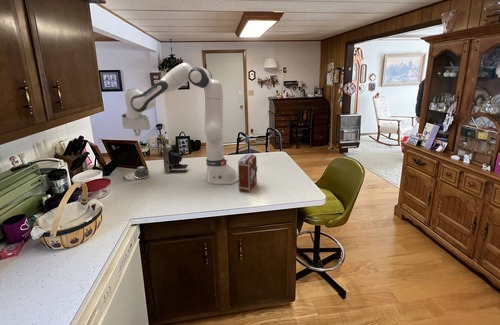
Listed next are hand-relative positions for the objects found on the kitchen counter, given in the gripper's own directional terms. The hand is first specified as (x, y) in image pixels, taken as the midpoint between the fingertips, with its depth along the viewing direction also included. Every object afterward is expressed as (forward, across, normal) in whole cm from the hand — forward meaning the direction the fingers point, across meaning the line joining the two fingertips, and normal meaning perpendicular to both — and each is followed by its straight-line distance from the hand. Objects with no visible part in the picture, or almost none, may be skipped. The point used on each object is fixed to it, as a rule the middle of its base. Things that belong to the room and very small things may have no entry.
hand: (137, 135), depth 189 cm
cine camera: (+29, -76, -9) cm, 82 cm away
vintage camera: (+29, -15, -18) cm, 37 cm away
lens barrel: (+29, 0, +1) cm, 29 cm away
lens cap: (+27, 0, +1) cm, 27 cm away
